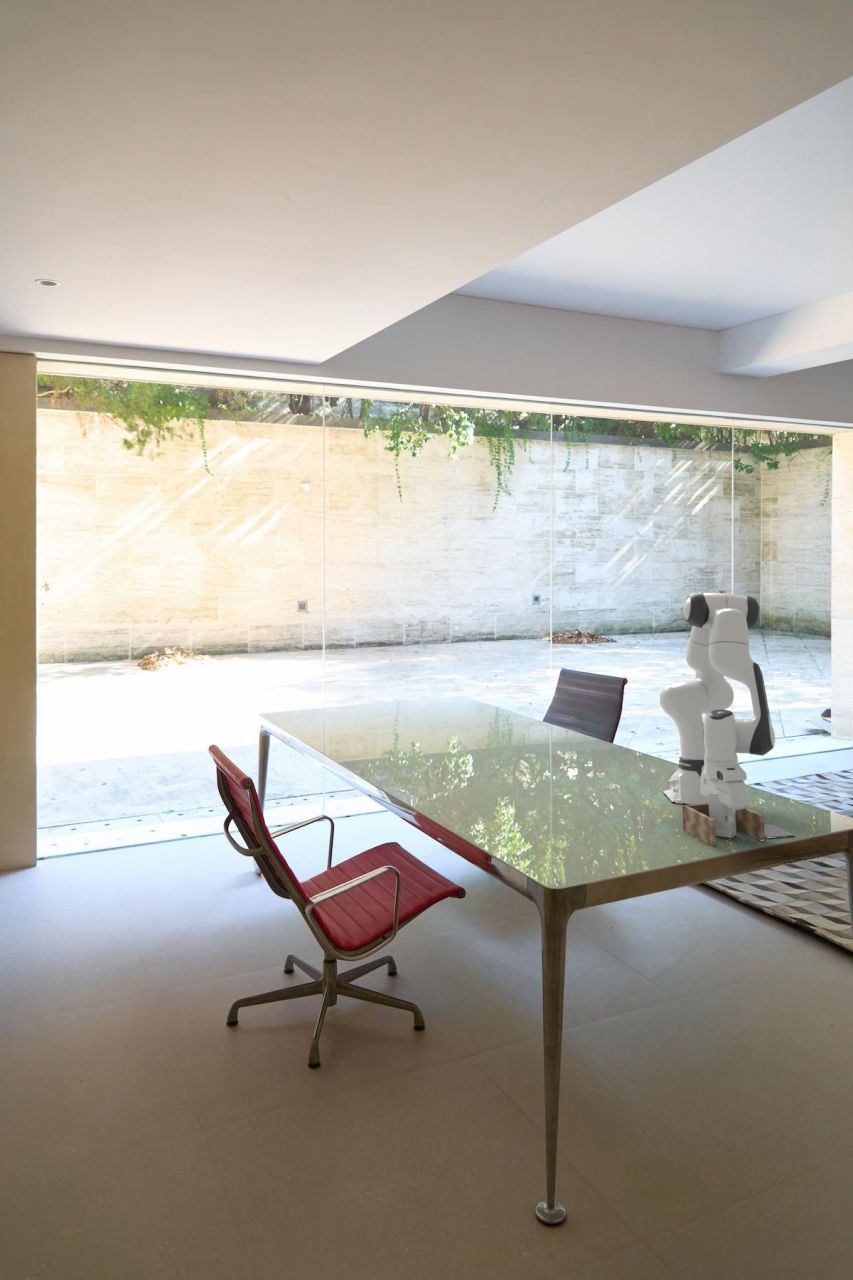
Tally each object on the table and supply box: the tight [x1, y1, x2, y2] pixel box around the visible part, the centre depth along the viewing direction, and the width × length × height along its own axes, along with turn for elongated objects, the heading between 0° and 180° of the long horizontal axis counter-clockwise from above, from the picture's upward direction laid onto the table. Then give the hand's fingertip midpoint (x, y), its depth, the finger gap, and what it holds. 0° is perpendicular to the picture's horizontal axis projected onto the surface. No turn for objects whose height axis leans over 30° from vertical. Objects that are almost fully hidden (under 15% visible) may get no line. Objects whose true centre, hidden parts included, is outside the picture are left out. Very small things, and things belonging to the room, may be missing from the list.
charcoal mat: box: [764, 824, 796, 838], centre depth 258 cm, size 12×8×1 cm, turn 9°
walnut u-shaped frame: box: [682, 803, 766, 847], centre depth 257 cm, size 18×15×7 cm
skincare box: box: [708, 792, 738, 839], centre depth 257 cm, size 6×4×12 cm
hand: (722, 818), depth 257 cm, fingers closed on skincare box, 7 cm apart
